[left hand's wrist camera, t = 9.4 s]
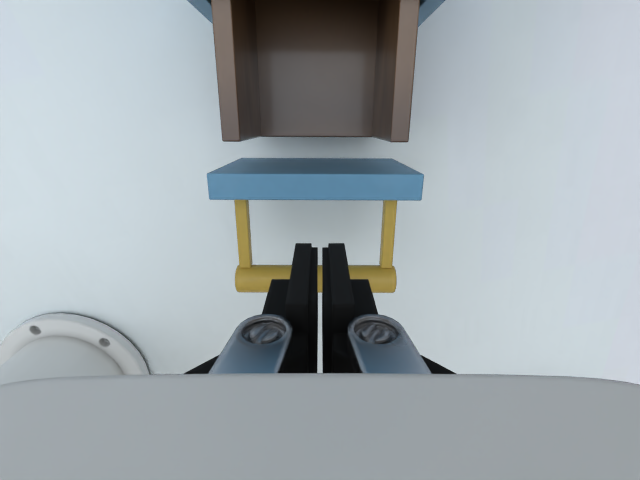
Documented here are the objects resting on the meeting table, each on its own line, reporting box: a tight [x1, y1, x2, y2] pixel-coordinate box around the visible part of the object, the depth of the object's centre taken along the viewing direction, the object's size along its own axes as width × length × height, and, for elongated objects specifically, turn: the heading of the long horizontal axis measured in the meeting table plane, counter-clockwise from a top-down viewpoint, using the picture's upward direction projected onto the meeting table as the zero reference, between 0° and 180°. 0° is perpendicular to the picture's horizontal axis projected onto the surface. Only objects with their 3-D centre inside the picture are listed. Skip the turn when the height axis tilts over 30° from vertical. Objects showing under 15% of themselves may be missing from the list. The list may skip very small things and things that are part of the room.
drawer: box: [207, 0, 424, 293], centre depth 17 cm, size 24×10×7 cm, turn 0°
